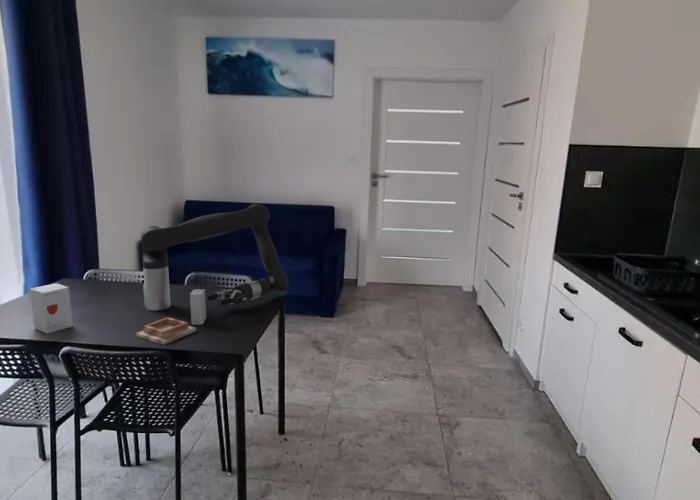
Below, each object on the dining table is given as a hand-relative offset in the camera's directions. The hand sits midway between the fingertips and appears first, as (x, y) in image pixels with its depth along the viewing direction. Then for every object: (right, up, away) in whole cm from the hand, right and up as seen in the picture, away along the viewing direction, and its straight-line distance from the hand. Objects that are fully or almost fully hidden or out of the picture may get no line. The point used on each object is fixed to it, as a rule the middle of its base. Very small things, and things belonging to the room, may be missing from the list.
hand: (214, 300), depth 175 cm
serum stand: (-12, -10, -16) cm, 22 cm away
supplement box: (-54, -9, -13) cm, 56 cm away
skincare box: (-5, -8, -4) cm, 10 cm away
